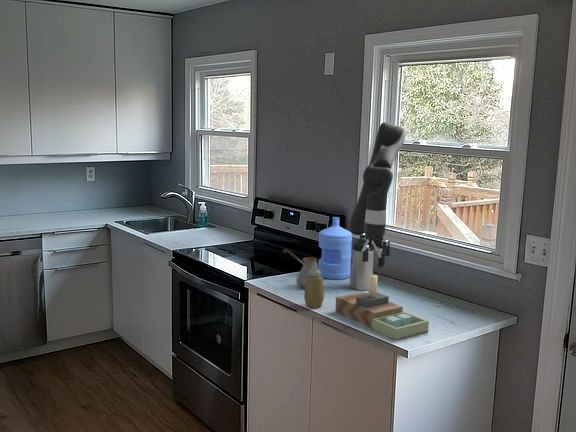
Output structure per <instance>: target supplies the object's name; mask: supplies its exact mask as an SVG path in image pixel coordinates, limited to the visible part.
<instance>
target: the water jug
mask: <svg viewBox="0 0 576 432" xmlns="http://www.w3.org/2000/svg"><path fill="white" fill-rule="evenodd" d="M352 241H353V234H352V233H351V231H349V230H347V229H345V228H343V227H341V226H340V217H338V216H333V217H332V225H331V226H330V227H329V226H328V227H327V228H324V229H322V230H320V231H319V234H318V247H319V248H320V249H321V257H320V258H319V259H317V261H318V262H317V267H318V270H319V271H321V275H320V276H321V277H323V279H327V280H344V279H345V280H346V279H348V278H350V267H351V265H352Z"/></svg>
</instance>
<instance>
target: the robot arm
mask: <svg viewBox="0 0 576 432" xmlns="http://www.w3.org/2000/svg"><path fill="white" fill-rule="evenodd" d="M406 135H407V131H406V128H405V127H403V126H399V125H395V124H392V123H389V122H384V121H383V122H382V123H380V125H379V128H378V130H377V133H376V138H375V142H374V145H373V149H372V154H371V157H370V161H369V164H368V165H367V167H366V168H365V169H364V171H363V173H362V181H363V183H362V187H361V189H360V190H361V191H360V193H359V197H358V199H357V202H356V204H355V207H354V209H353V212H352V214H351V217H350V219H349V220H350V221H349V230H350V231H349V232H351V233H352V235H355V236H359V239H358V240H355V241H354V242H353V244H352V253H351V267H350V276H349V287H351V289H354V290H358V291H369V276H370V275H374V274H373V272H374V271H373V270H374V254H375V253H374V250H375V252H376V253H377V255H378V257H377V258H378V259H377V260H378V261H377V267H378V268H384V267H385V258H386V257H390V249H391V248H390V247H391V244H390V243H391V241H390V240H389V239H388V240H387V239H384V236H385V235H386V226H387V225H386V224H387V223H386V222H387V198H388V194H389V191H390V188H391V185H392V182H393V180H394V179H393V177H394V174H393V171H392V166H393V165H394V161H395V158H396V157H397V156H398V155H399V153H400V151H401V148H402V147H403V145H404V143H405V139H406Z"/></svg>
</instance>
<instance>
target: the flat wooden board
mask: <svg viewBox="0 0 576 432" xmlns="http://www.w3.org/2000/svg"><path fill="white" fill-rule="evenodd" d="M368 294H369V292H366V291H360V292H359V291H358V292H354V293H350V294H344V295H339V296H336V297H335V309H334V310H335V313H337V314H339V315H342V316H343V317H346V318H349V319H350V320H352V319H353V321H355V322H357V323H359V324H362V325H364V326H366V327H368V328H370V329H372V319H374V318H379V317H383V316H387V315H391V314H396V313H400V312H404V311H403V309H404V306H403V305H400V304H397V303H394V302H391V301H388V303H385V304H381V305H377V306H373V307H368V308H366V307H364V306H361V305H359V304H356V297H359V296H363V295H368Z"/></svg>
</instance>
